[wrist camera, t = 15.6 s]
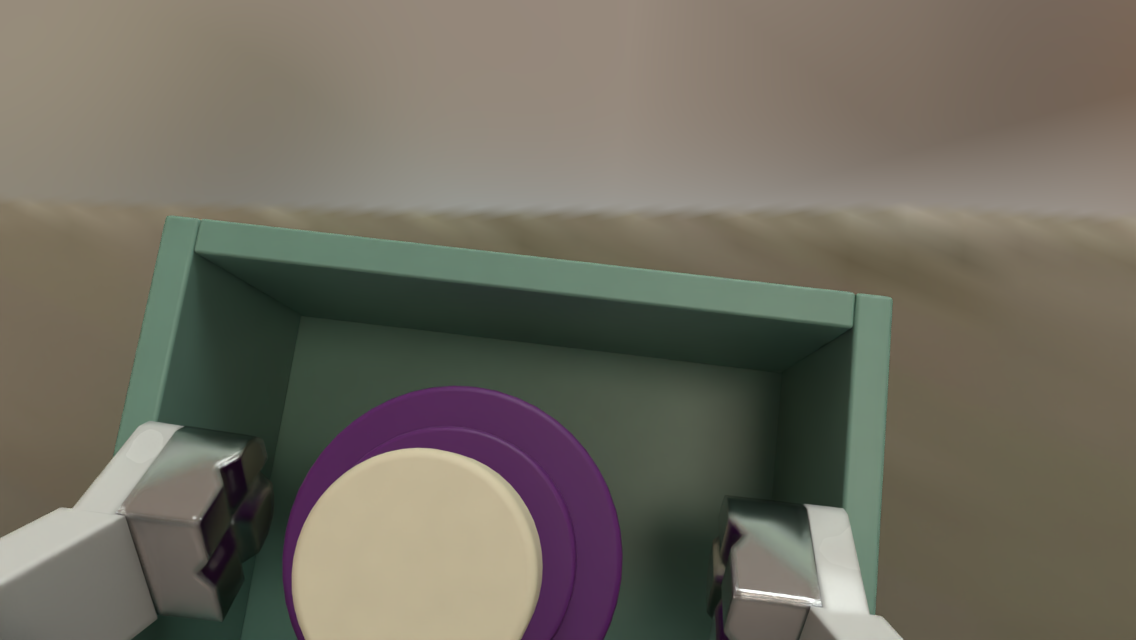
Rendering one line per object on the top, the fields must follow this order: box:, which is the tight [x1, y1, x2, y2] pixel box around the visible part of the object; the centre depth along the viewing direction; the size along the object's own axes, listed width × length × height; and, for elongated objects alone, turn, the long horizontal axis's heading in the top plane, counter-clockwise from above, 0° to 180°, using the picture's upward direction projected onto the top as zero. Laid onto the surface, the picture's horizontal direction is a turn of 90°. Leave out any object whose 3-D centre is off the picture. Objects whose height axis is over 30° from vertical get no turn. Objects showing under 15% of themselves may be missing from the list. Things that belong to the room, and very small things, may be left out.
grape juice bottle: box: [282, 386, 623, 640], centre depth 11 cm, size 4×4×8 cm
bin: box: [113, 216, 893, 640], centre depth 13 cm, size 10×8×5 cm
